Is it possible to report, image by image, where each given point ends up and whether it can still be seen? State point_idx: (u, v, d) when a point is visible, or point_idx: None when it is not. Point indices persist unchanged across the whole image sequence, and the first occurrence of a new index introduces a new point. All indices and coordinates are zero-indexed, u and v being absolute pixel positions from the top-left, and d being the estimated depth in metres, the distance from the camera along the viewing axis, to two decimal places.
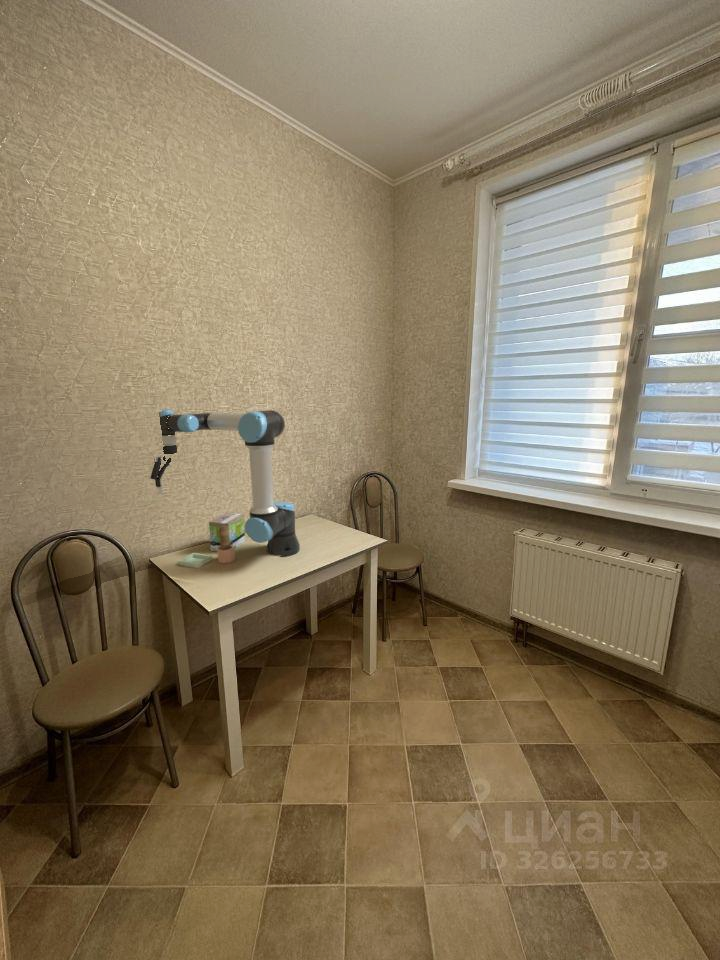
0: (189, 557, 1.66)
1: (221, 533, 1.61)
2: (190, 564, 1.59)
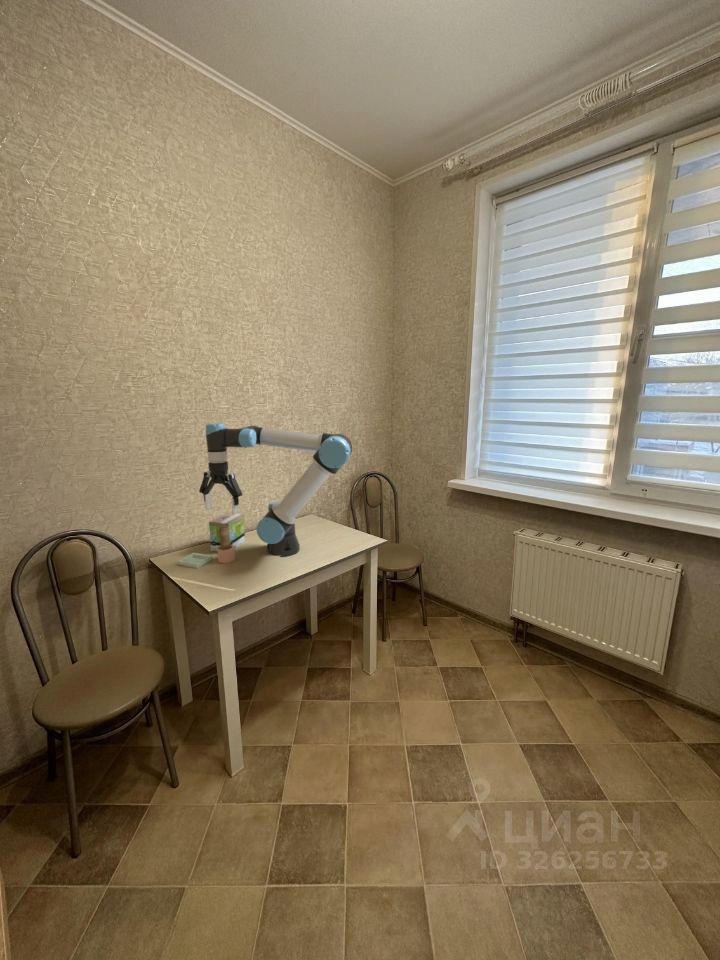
0: (189, 557, 1.66)
1: (221, 533, 1.61)
2: (190, 564, 1.59)
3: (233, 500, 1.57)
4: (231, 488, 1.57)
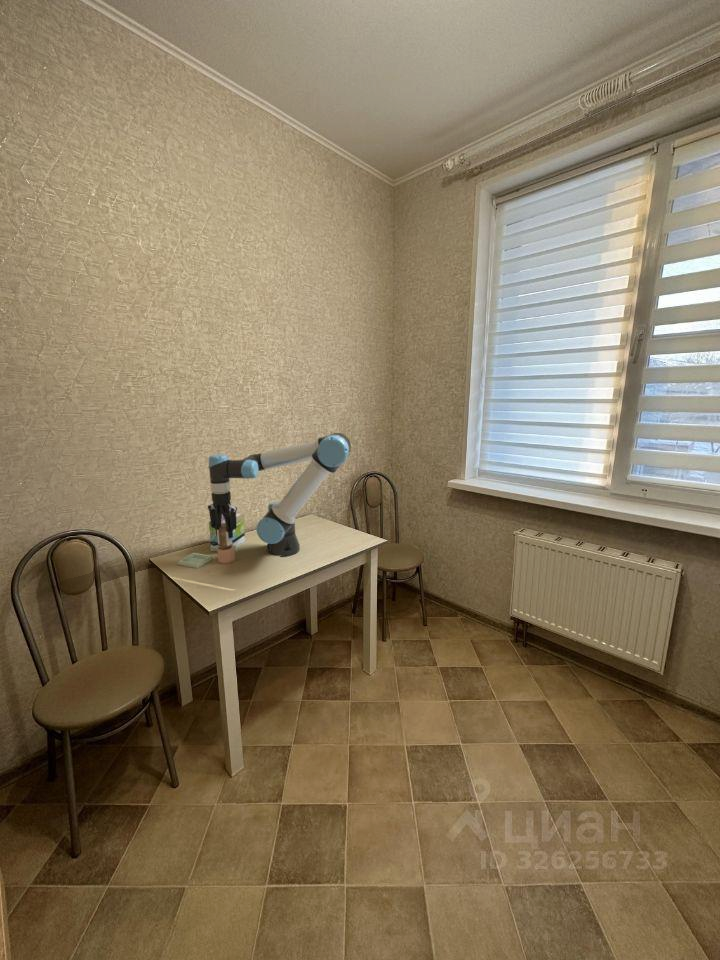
0: (189, 557, 1.66)
1: (221, 533, 1.61)
2: (190, 564, 1.59)
3: (227, 533, 1.62)
4: (229, 521, 1.61)
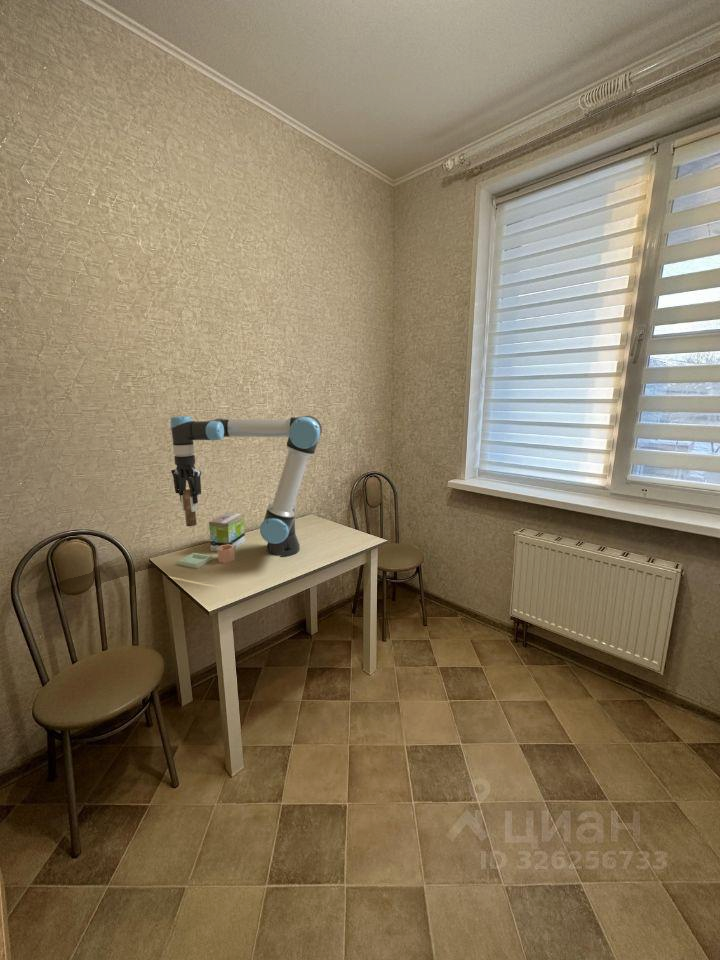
0: (189, 557, 1.66)
1: (185, 496, 1.55)
2: (190, 564, 1.59)
3: (192, 498, 1.56)
4: (193, 486, 1.55)
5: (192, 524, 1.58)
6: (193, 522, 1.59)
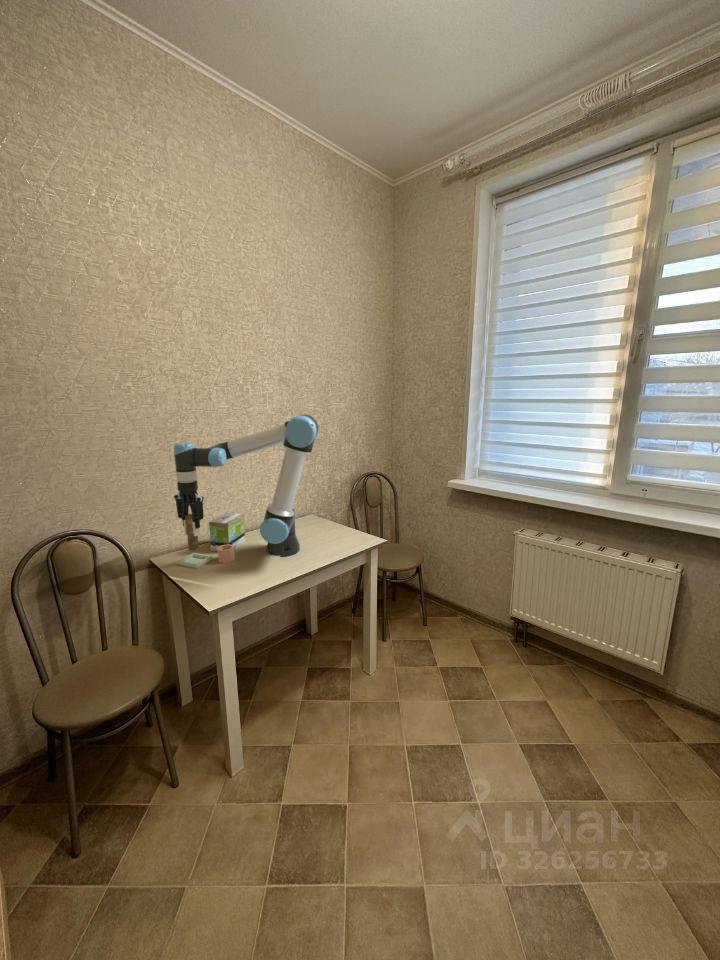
0: (189, 557, 1.66)
1: (187, 521, 1.58)
2: (190, 564, 1.59)
3: (194, 523, 1.58)
4: (195, 511, 1.58)
5: (194, 548, 1.61)
6: (195, 546, 1.61)
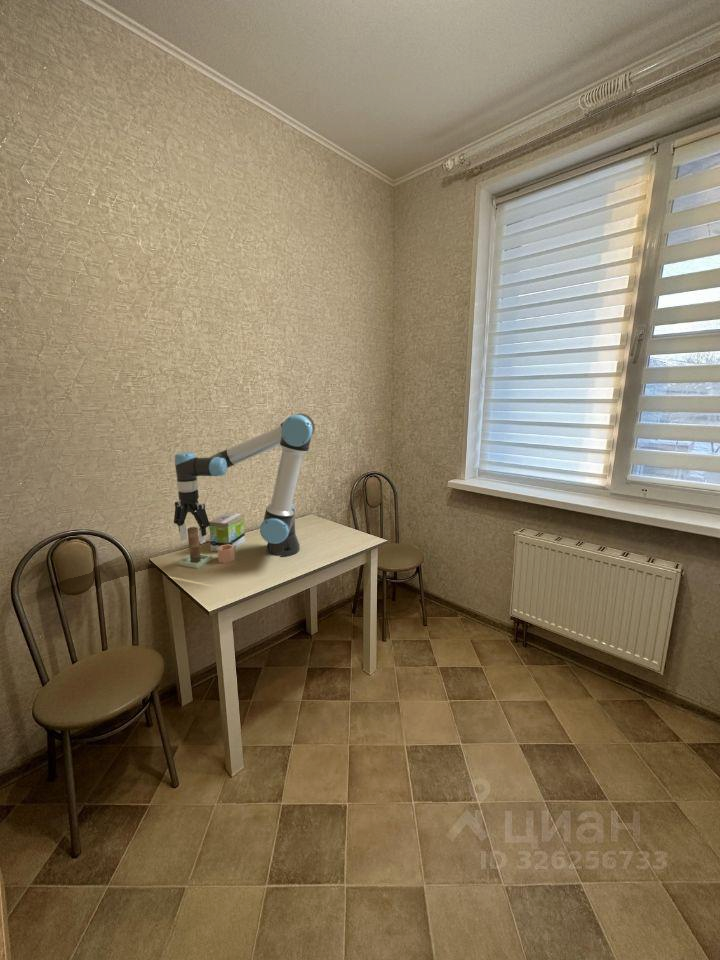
0: (189, 557, 1.66)
1: (189, 535, 1.59)
2: (190, 564, 1.59)
3: (200, 531, 1.58)
4: (199, 518, 1.58)
5: (196, 561, 1.62)
6: (197, 560, 1.62)
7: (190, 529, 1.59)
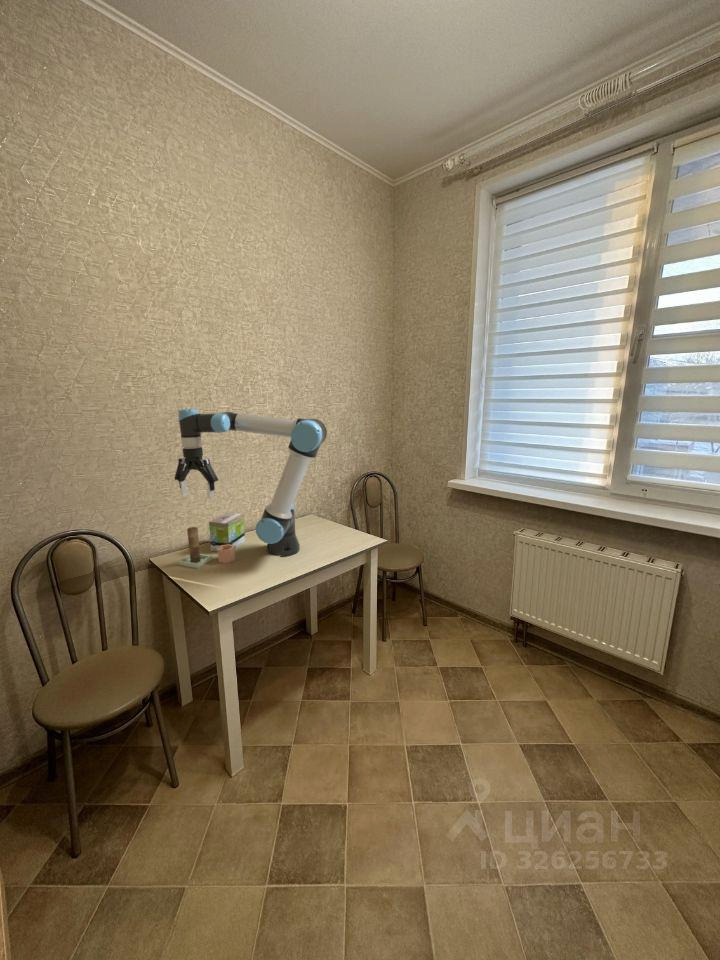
0: (189, 557, 1.66)
1: (189, 535, 1.59)
2: (190, 564, 1.59)
3: (209, 485, 1.57)
4: (206, 474, 1.57)
5: (196, 561, 1.62)
6: (197, 560, 1.62)
7: (190, 529, 1.59)
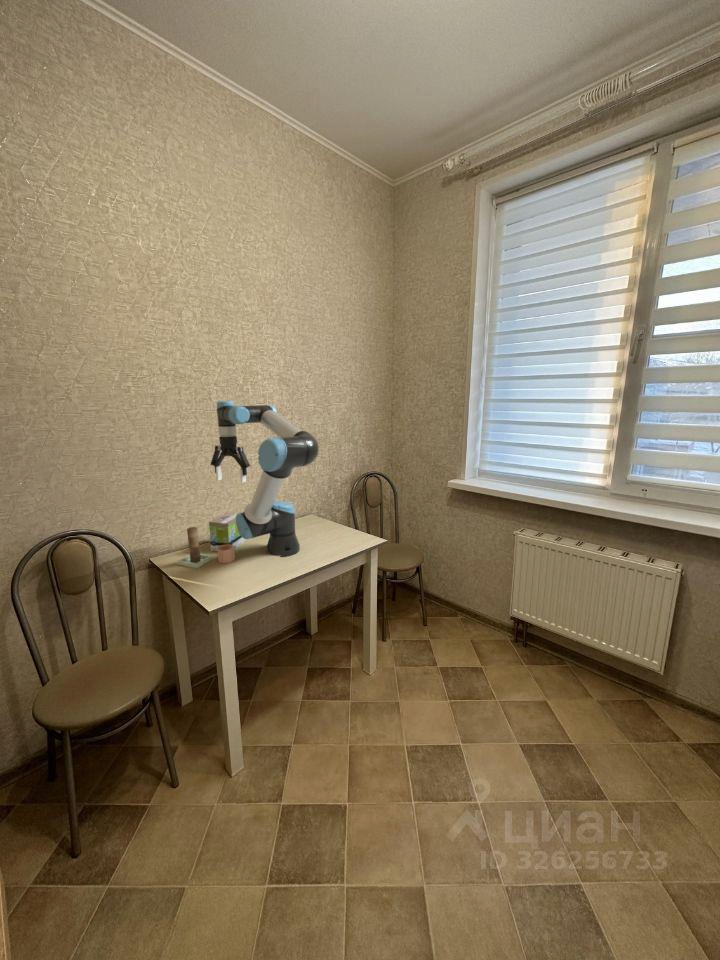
0: (189, 557, 1.66)
1: (189, 535, 1.59)
2: (190, 564, 1.59)
3: (242, 471, 1.73)
4: (240, 460, 1.73)
5: (196, 561, 1.62)
6: (197, 560, 1.62)
7: (190, 529, 1.60)
